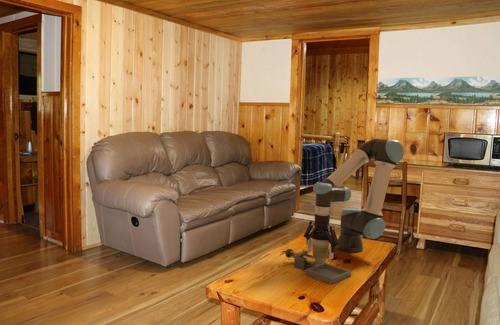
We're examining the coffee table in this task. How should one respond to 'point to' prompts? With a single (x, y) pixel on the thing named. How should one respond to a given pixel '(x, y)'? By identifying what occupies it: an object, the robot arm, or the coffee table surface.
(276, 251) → the coffee table surface
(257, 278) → the coffee table surface
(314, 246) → the coffee cup
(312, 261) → the lock pin
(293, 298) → the coffee table surface
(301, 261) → the pin mount
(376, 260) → the coffee table surface
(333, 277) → the grey square tray
